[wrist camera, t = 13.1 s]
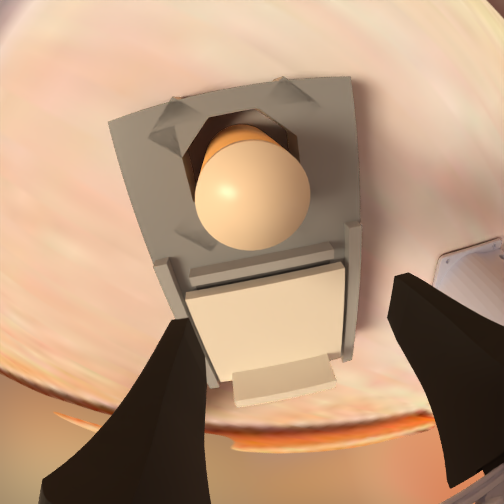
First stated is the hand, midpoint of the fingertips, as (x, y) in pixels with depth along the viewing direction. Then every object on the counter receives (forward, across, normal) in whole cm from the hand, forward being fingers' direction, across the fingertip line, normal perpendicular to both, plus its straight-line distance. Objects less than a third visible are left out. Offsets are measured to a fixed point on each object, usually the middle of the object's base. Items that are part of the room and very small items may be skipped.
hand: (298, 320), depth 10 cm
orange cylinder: (+9, +1, -4) cm, 10 cm away
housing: (+9, +1, +2) cm, 10 cm away
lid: (+7, +1, +7) cm, 10 cm away
